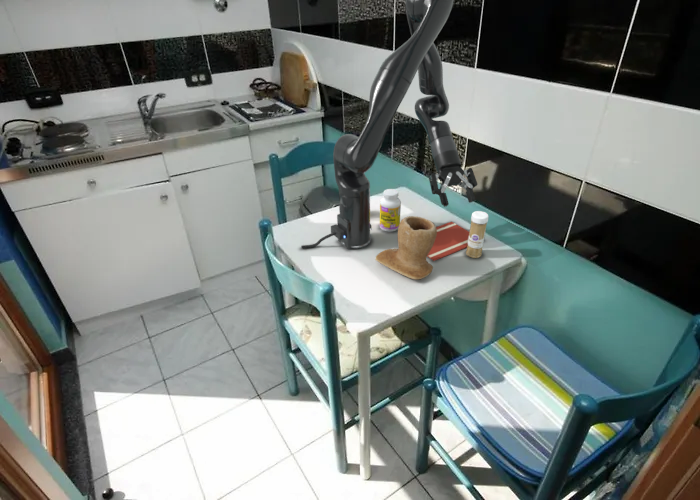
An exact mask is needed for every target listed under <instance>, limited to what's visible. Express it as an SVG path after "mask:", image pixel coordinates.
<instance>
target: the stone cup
mask: <svg viewBox="0 0 700 500" xmlns="http://www.w3.org/2000/svg"><path fill="white" fill-rule="evenodd" d="M436 227H437V226H436V224H435V223H434V222H433V221H431V220H429V219H427V218H425V217H421V216H415V215H414V216H413V215H409V216H405V217H403V218H402V219H401V220H400V224H399V227H398V229H397V246H398V248H387V249H385V250H382V251H381V252H379V253H378V254H377V255H376V256H375V259H374V260H375V261H376V262H378V263H380V264H381V265H383V266H385V267H386V268H388V269H389V270H392V271H393V272H395V273H398V274H400V275H402V276H404V277H406V278H408V279H412V280H415V281H416V280H422V279H424V278H426V277H428V276H429V275H430V274H432V272H433V268H434V267H433V265H432V263H430V262H429V261H428V260H427V258H428V257H427V255H428V254H429V252H430V250H431V249H432V247H433V244H434V242H435V239H436V235H437V229H436Z"/></svg>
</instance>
